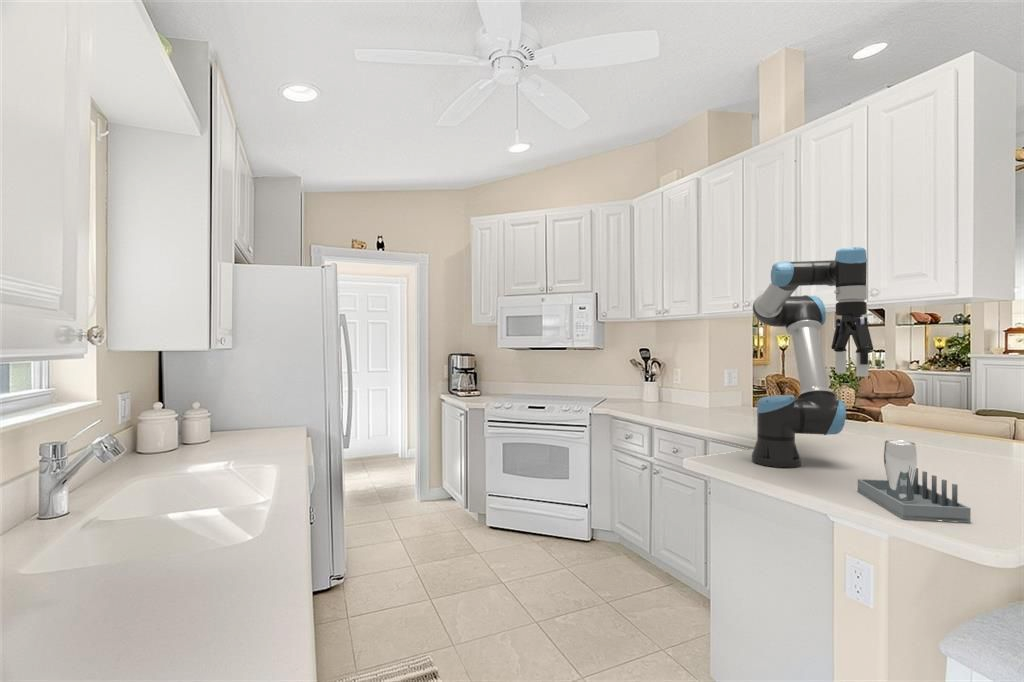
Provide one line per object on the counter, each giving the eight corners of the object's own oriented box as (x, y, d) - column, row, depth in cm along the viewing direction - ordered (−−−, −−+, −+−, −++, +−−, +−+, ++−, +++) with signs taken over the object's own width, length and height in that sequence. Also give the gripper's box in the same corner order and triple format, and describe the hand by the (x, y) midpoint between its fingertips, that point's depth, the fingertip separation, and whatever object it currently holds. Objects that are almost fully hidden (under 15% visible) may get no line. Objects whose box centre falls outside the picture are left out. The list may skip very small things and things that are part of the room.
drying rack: (857, 491, 146) (857, 463, 146) (913, 493, 143) (913, 465, 143) (903, 519, 123) (903, 486, 123) (970, 523, 121) (970, 488, 121)
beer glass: (922, 504, 131) (922, 445, 131) (891, 502, 133) (891, 444, 133) (907, 496, 138) (907, 440, 138) (878, 494, 139) (878, 439, 139)
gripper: (819, 304, 163) (819, 371, 163) (856, 298, 138) (857, 377, 138) (845, 304, 161) (845, 372, 161) (888, 298, 137) (888, 378, 137)
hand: (851, 374), depth 150 cm, fingers open, 13 cm apart
